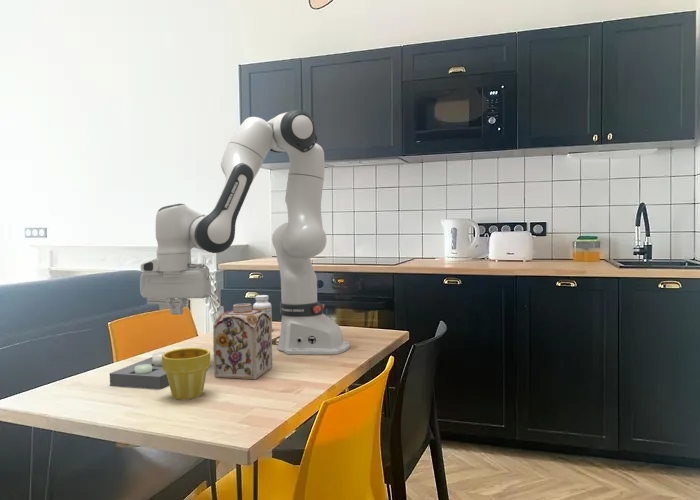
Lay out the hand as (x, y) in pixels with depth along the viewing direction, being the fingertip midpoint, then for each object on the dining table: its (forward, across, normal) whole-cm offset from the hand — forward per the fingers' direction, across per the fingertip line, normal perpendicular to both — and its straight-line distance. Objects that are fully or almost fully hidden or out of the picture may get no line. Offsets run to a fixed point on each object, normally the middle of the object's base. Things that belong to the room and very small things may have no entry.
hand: (176, 314), depth 148 cm
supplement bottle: (+15, -2, -50) cm, 52 cm away
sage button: (+13, -1, +16) cm, 21 cm away
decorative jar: (+15, -21, +3) cm, 26 cm away
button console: (+14, -1, +9) cm, 17 cm away
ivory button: (+12, -1, +9) cm, 15 cm away
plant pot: (+14, -17, +23) cm, 32 cm away
